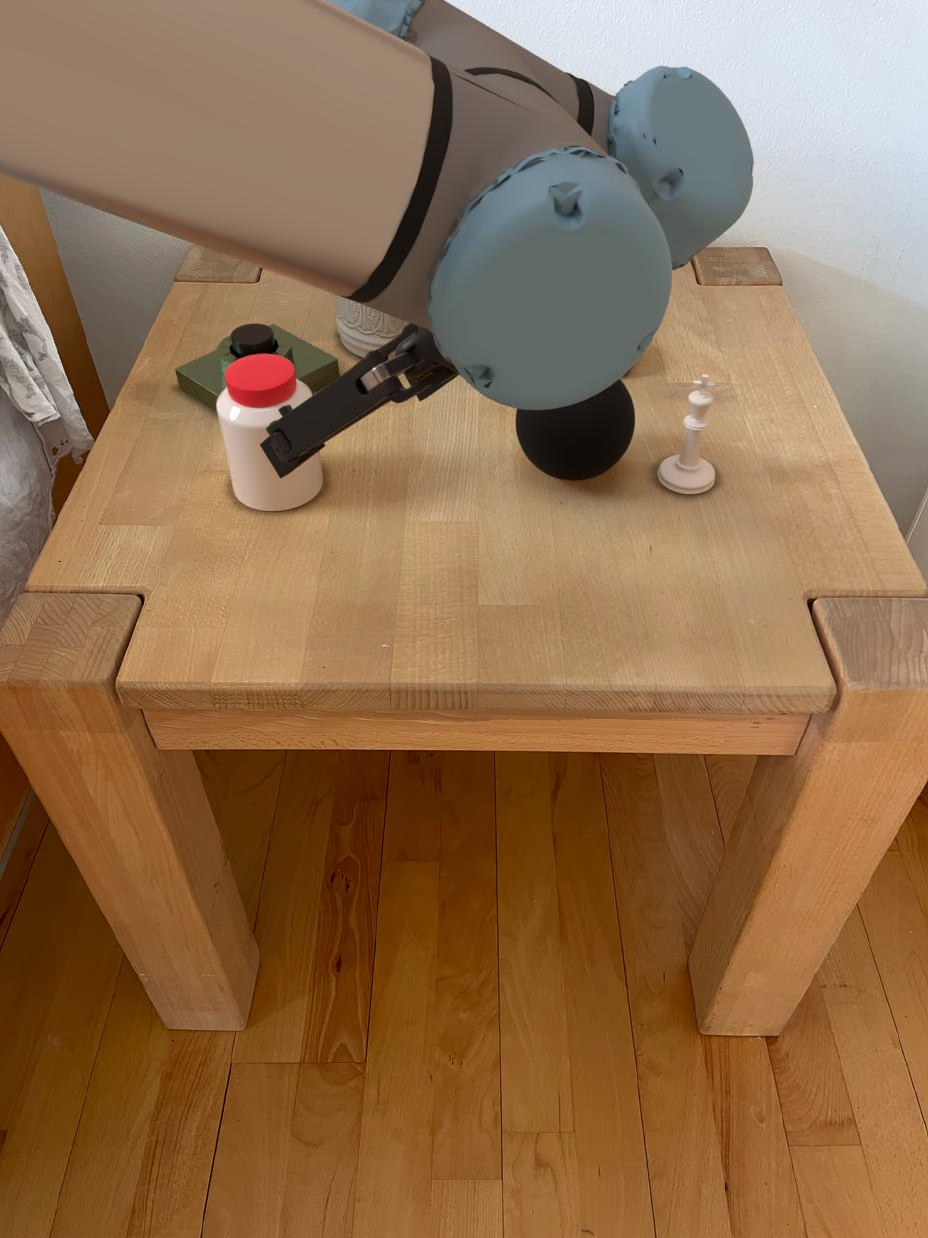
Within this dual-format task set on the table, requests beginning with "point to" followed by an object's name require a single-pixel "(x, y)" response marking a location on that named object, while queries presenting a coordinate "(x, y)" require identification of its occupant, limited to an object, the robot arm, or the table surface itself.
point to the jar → (365, 327)
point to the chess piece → (691, 448)
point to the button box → (209, 370)
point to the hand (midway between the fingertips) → (347, 420)
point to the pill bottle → (263, 432)
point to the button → (252, 340)
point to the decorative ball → (579, 434)
